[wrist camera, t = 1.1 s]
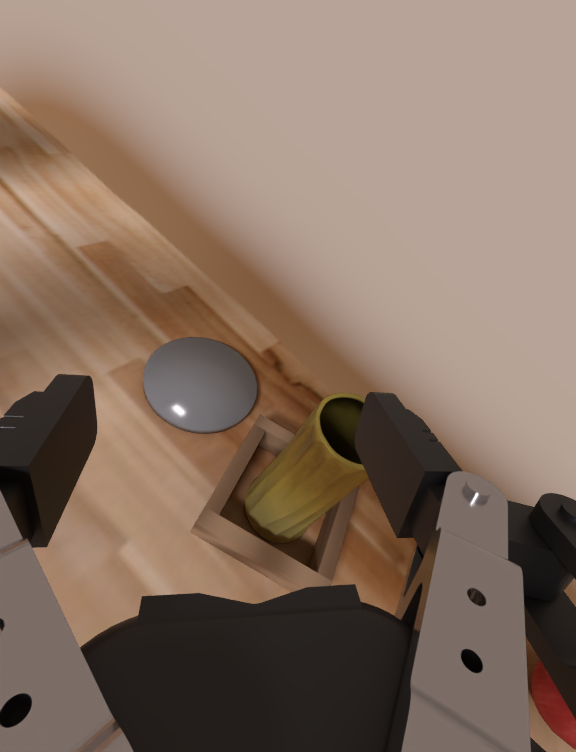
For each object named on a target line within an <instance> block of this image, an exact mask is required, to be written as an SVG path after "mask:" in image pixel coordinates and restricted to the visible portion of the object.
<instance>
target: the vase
mask: <svg viewBox="0 0 576 752" xmlns="http://www.w3.org/2000/svg"><path fill="white" fill-rule="evenodd" d="M364 402H365V398H363V397H361V396H358V395H355V394H350V393H336V394H333V395H330V396H328V397H326V398H324V399H323V400H322V401H321V402H320V403H319V404H318V405H317V406H316V408H315V409H314V410H313V411H312V413H311V414H310V415H309V417H308V418H307V420H306V421H305V422H304V424H303V425H302V426H301V428H300V429H299V430H298V431H297V433H296V434H295V435H294V437H293V438H292V439H291V441H290V442H289V443H288V444H287V446H286V447H285V448H284V449H283V450H282V452H281V453H280V454H279V455H278V456H277V457H276V458H275V459H274V460H273V461H272V462H271V464H270V465H269V466H268V467H267V468H266V469H265V470H264V471H263V472H262V473H261V475H260V476H259V477H258V478H256V479H255V480H254V481H253V482H252V483H251V485H250V487H249V489H248V491H247V493H246V498H245V509H246V515H247V518H248V520H249V522H250V524H251V526H252V527H253V529H254V530H255V531H256V532H257V533H258V534H259V535H260V536H262V537H263V538H265V539H267V540H269V541H272V542H278V543H284V542H291V541H293V540H295V539H297V538H299V537H300V536H301V535H302V534H303V533H304V532H305V531H306V530H307V528H308V527H309V526H310V525H311V524H312V523H313V522H314V521H316V520H317V519H318V518H319V517H320V516H321V515H323V514H324V513H325V512H327V511H328V510H329V509H330V508H332V507H333V506H334V505H335V504H337V503H338V502H339V501H340V500H342V499H343V498H344V497H345V496H347V495H348V494H349V493H350V492H351V491H352V490H353V489H355V488H356V487H357V486H359V485H360V484H362V483H363V482H364V481H366V480H367V479H368V478H369V477H368V475H367V473H366V471H365V469H364V466H363V464H362V462H361V460H360V458H359V456H358V454H357V451H356V448H355V433H356V429H357V425H358V422H359V419H360V415H361V412H362V408H363V405H364Z"/></svg>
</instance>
